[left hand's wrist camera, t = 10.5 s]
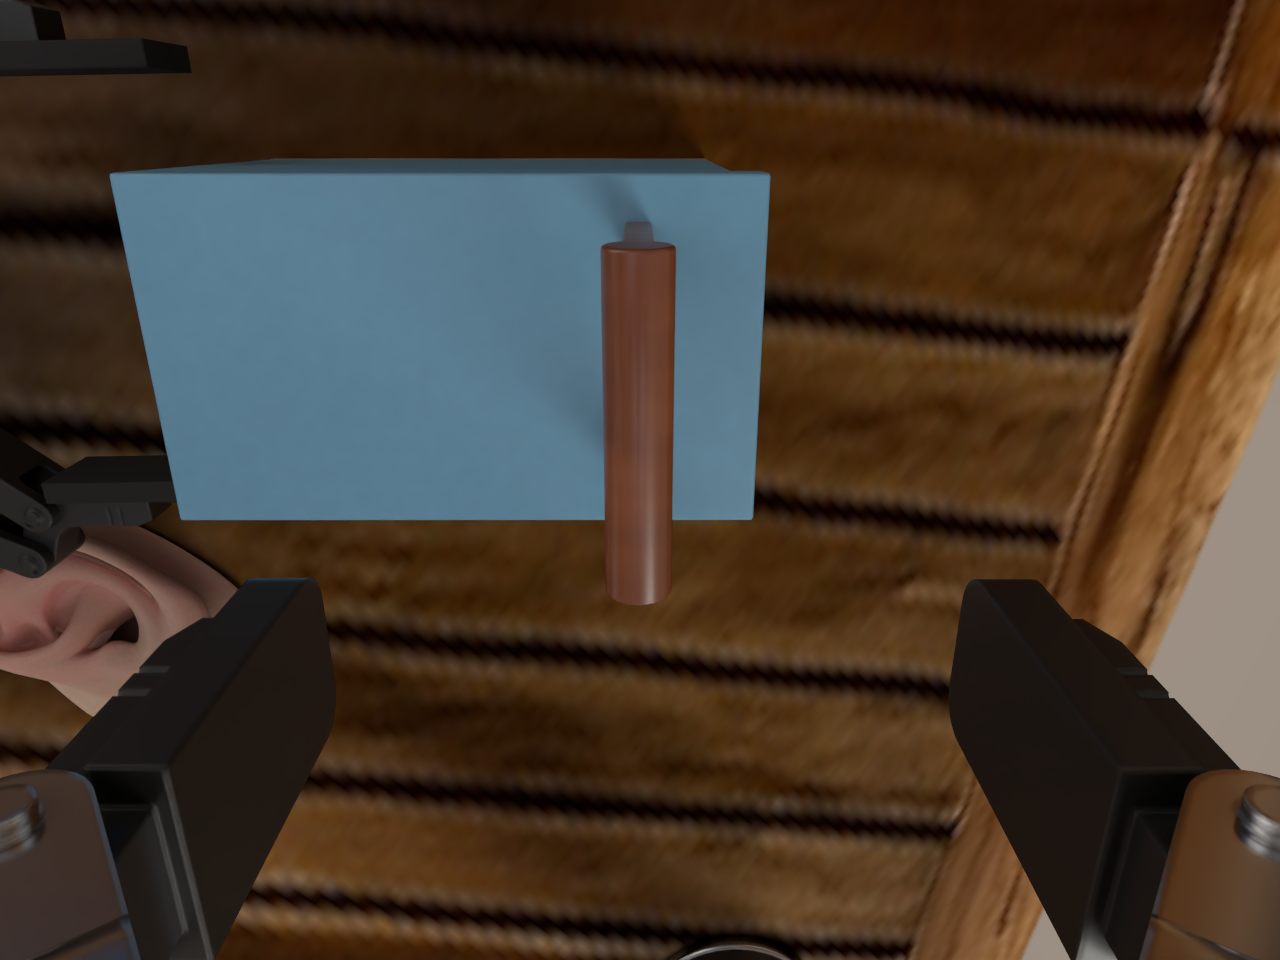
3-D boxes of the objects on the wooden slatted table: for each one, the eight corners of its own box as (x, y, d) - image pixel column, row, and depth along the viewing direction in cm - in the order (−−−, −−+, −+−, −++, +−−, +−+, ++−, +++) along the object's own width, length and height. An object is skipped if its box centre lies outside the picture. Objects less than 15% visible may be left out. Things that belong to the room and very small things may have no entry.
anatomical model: (280, 747, 39) (65, 829, 41) (312, 693, 43) (113, 771, 44) (97, 490, 35) (-136, 594, 36) (150, 455, 38) (-64, 551, 40)
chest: (705, 158, 34) (733, 170, 24) (699, 405, 38) (721, 505, 28) (280, 158, 34) (131, 170, 24) (314, 405, 38) (198, 505, 28)
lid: (765, 171, 24) (823, 190, 16) (748, 505, 28) (790, 648, 20) (130, 170, 24) (-104, 190, 16) (197, 506, 28) (30, 649, 20)
